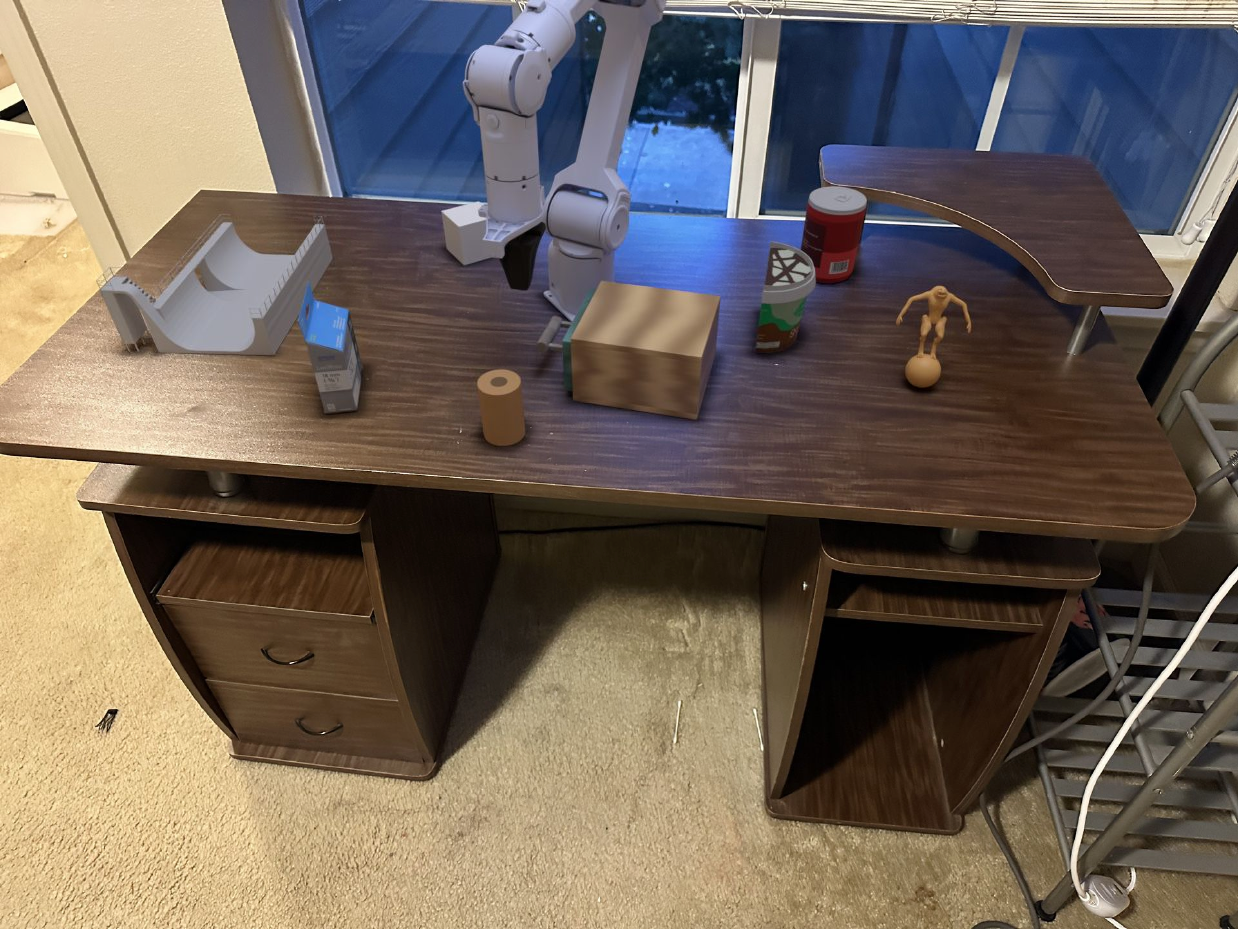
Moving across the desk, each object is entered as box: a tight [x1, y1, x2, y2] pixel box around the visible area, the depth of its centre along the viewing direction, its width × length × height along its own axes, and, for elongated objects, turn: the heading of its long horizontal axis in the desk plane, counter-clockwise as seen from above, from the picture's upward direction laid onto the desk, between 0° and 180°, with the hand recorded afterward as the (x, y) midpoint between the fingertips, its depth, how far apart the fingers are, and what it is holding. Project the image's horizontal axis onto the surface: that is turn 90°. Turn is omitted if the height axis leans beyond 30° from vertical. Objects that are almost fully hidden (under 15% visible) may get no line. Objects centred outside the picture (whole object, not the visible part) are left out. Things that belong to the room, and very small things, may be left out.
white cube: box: [440, 201, 492, 266], centre depth 124 cm, size 6×6×6 cm
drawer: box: [535, 288, 597, 392], centre depth 101 cm, size 18×12×7 cm
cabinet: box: [571, 281, 722, 420], centre depth 100 cm, size 15×13×9 cm
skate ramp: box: [95, 213, 334, 356], centre depth 112 cm, size 25×19×10 cm
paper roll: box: [476, 369, 526, 447], centre depth 93 cm, size 5×5×7 cm
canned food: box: [800, 185, 868, 284], centre depth 119 cm, size 8×8×11 cm
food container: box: [754, 241, 817, 354], centre depth 107 cm, size 12×6×10 cm, turn 168°
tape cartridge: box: [297, 281, 364, 415], centre depth 97 cm, size 9×4×12 cm, turn 9°
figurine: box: [895, 285, 972, 389], centre depth 99 cm, size 8×6×12 cm
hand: (520, 287), depth 98 cm, fingers closed
